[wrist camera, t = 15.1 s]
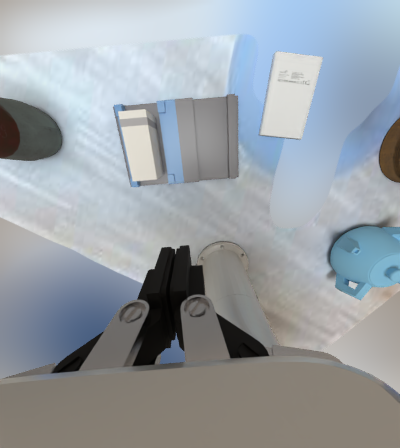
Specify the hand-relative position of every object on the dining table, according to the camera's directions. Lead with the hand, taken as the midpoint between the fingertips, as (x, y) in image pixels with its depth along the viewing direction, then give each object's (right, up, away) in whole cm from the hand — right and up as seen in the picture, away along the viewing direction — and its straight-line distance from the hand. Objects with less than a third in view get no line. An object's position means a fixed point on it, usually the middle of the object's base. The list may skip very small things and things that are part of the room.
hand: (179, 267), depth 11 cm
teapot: (+40, -3, +34) cm, 52 cm away
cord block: (-8, +17, +23) cm, 30 cm away
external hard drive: (+17, +26, +23) cm, 38 cm away
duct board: (-2, +18, +24) cm, 30 cm away
